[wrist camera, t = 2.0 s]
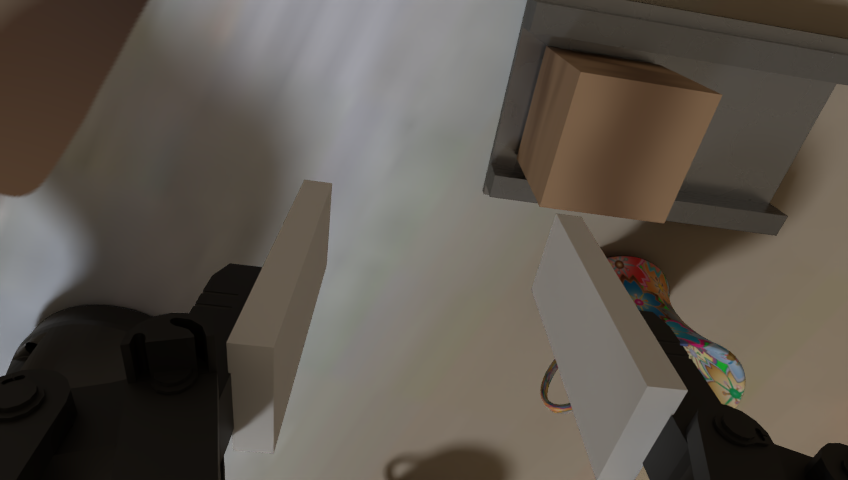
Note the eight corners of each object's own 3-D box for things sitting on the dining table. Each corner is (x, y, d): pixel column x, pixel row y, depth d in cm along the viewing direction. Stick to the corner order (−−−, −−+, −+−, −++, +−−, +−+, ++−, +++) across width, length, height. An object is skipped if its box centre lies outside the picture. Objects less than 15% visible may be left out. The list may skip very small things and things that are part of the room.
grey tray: (482, 190, 35) (487, 207, 32) (531, -17, 28) (541, -14, 26) (748, 226, 36) (770, 244, 34) (852, 39, 30) (888, 47, 28)
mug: (656, 227, 36) (737, 321, 27) (678, 317, 41) (754, 424, 32) (502, 283, 39) (528, 387, 30) (538, 362, 43) (571, 474, 34)
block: (516, 158, 32) (539, 206, 26) (546, 46, 29) (580, 71, 23) (618, 172, 33) (664, 223, 27) (659, 64, 29) (722, 94, 23)
